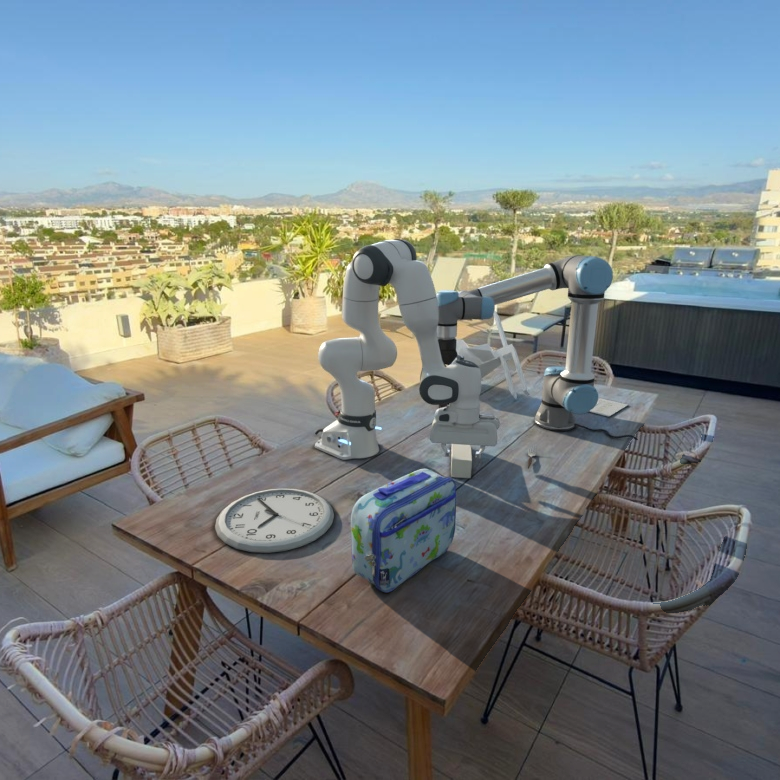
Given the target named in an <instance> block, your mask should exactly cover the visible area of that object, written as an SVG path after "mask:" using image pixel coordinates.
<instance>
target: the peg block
mask: <svg viewBox="0 0 780 780" xmlns="http://www.w3.org/2000/svg"><path fill="white" fill-rule="evenodd" d="M450 451H451V455H450V457H451V459H450V478H459V479H471V478H472V467H473V466H472V465H473V456H472V445H461V444H451V449H450Z"/></svg>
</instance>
